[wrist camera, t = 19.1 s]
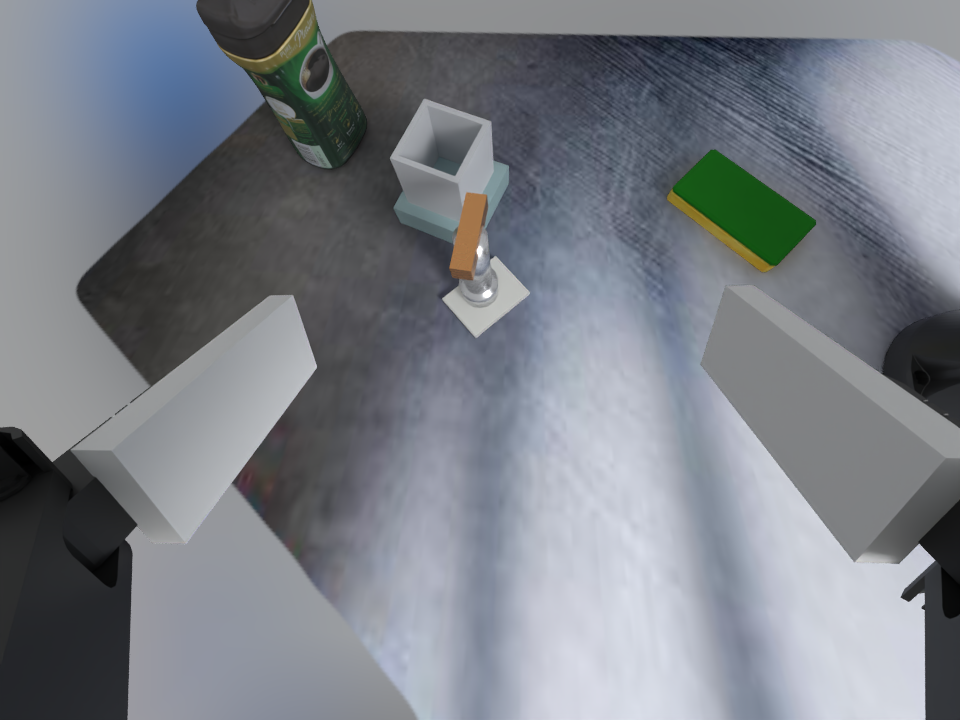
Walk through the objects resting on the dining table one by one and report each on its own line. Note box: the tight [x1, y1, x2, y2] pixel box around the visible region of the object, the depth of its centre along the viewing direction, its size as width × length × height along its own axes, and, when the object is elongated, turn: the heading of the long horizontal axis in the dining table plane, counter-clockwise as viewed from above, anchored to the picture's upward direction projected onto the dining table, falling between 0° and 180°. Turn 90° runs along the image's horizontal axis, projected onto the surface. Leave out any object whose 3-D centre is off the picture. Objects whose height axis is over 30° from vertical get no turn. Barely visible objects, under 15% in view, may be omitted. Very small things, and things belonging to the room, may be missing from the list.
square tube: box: [390, 99, 509, 243], centre depth 42 cm, size 10×10×10 cm
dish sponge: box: [667, 150, 816, 272], centre depth 43 cm, size 7×14×2 cm, turn 44°
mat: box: [442, 256, 530, 338], centre depth 44 cm, size 8×6×1 cm
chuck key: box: [449, 192, 499, 308], centre depth 37 cm, size 7×4×12 cm, turn 169°
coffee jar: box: [196, 0, 367, 169], centre depth 41 cm, size 10×8×19 cm
